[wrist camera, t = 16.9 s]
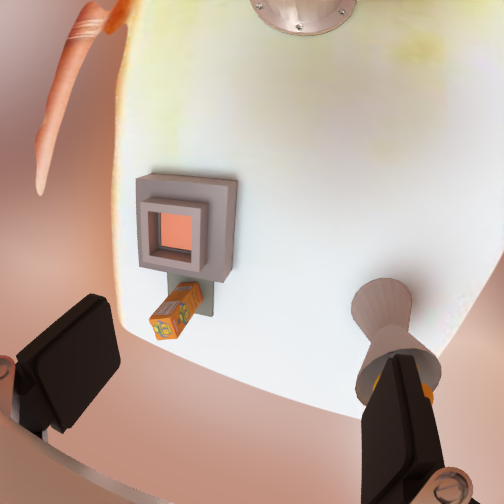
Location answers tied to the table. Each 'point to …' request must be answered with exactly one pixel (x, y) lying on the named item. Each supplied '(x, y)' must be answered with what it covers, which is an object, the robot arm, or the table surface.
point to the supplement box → (176, 311)
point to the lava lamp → (389, 335)
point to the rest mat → (205, 289)
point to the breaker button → (176, 231)
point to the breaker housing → (203, 224)
